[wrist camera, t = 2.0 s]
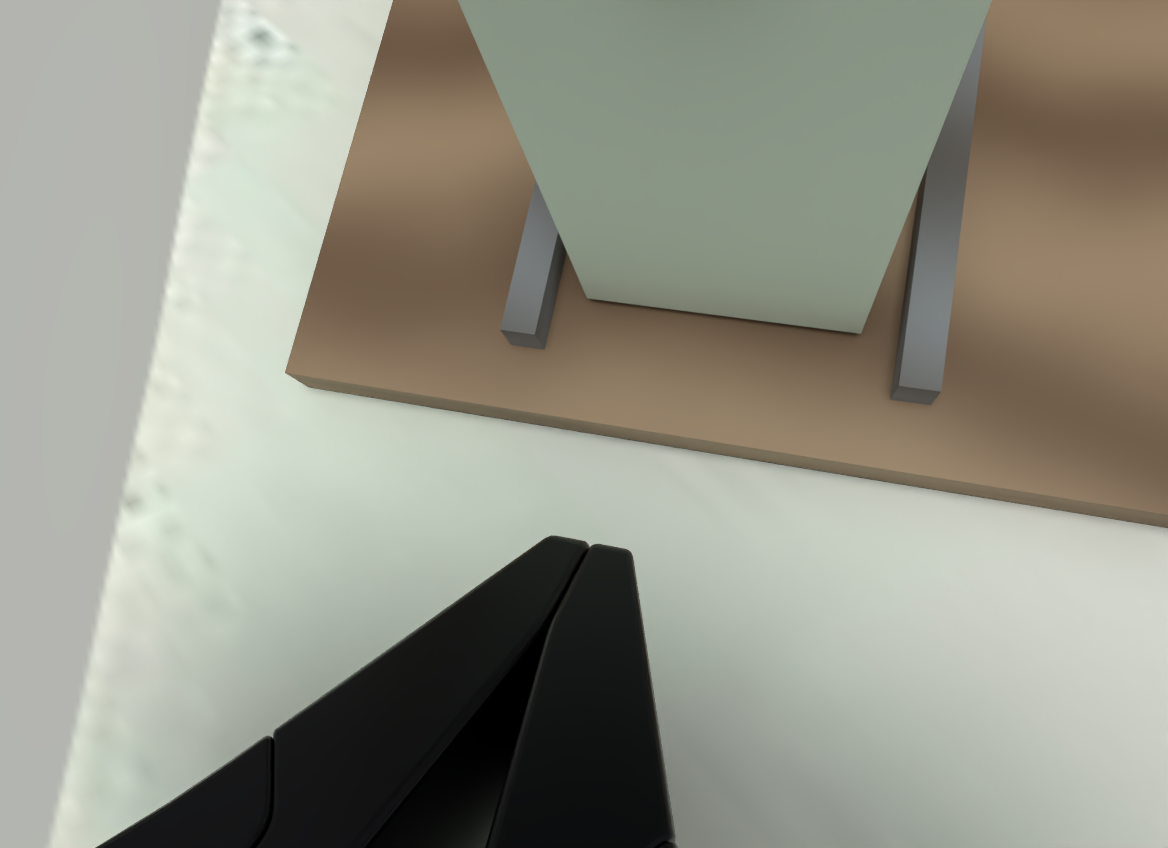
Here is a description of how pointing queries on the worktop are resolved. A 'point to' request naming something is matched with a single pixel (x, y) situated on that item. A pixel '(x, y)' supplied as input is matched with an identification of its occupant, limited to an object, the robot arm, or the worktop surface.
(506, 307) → the knob mount
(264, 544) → the worktop surface
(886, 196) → the pale green capped bottle
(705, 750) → the worktop surface
